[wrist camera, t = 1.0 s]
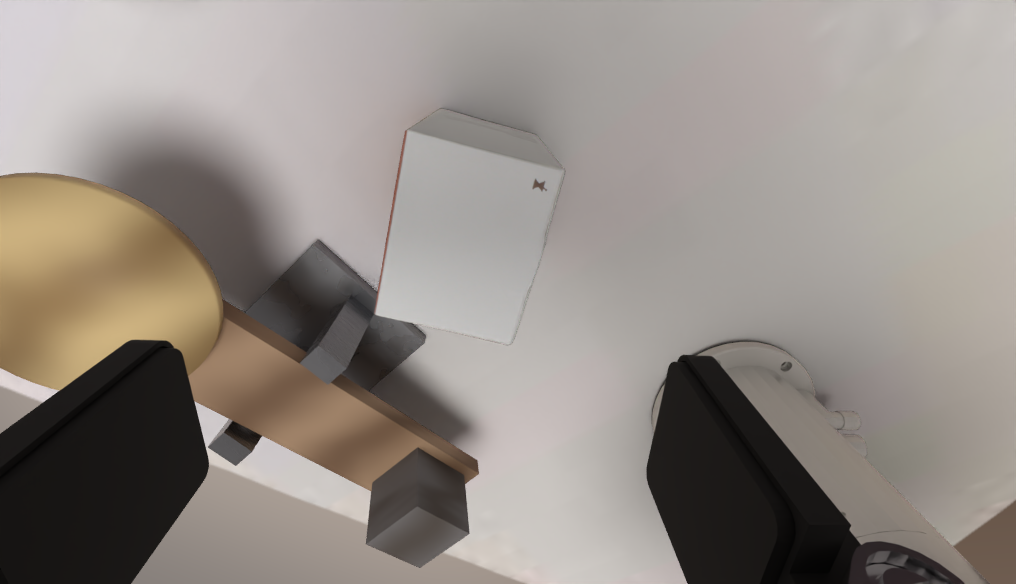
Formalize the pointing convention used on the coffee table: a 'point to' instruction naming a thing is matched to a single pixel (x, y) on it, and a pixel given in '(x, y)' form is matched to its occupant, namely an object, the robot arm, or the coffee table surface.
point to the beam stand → (325, 332)
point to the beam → (207, 351)
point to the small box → (467, 226)
